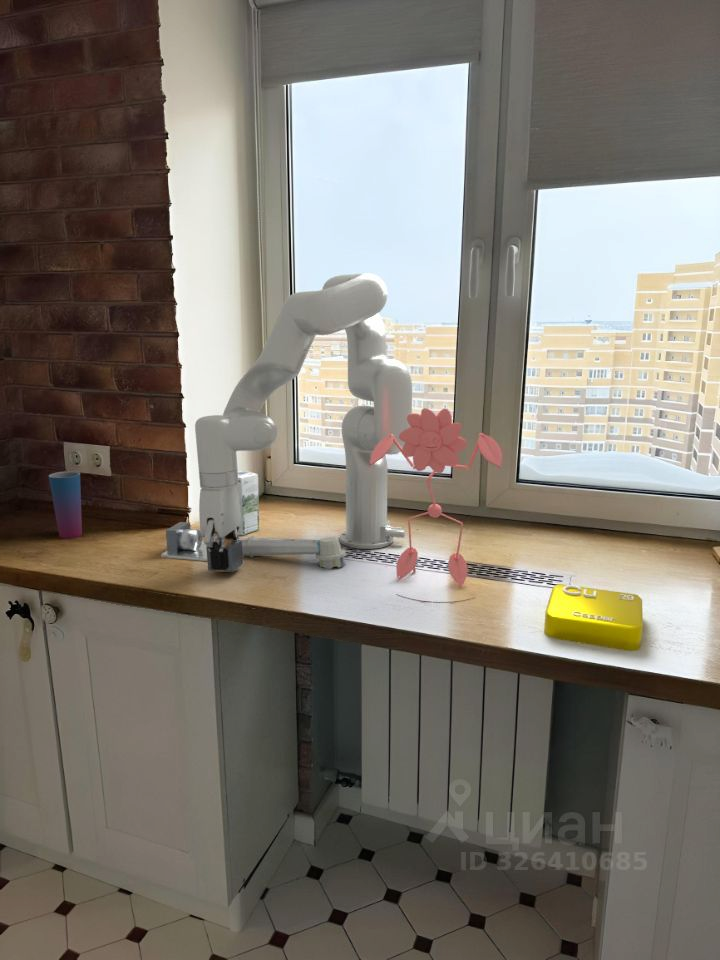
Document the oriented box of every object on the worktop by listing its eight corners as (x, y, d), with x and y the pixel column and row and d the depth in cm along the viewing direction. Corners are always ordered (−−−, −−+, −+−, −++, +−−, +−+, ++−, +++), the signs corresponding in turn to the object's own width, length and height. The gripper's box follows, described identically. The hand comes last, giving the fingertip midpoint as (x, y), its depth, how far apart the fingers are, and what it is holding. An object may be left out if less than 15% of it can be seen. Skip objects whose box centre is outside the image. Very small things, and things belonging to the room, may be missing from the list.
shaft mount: (240, 549, 153) (239, 524, 151) (223, 562, 144) (222, 536, 143) (181, 544, 156) (179, 520, 155) (161, 557, 148) (159, 531, 146)
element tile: (542, 639, 111) (544, 612, 110) (552, 604, 125) (554, 579, 124) (640, 655, 106) (643, 627, 105) (639, 617, 119) (642, 591, 118)
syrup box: (243, 526, 170) (240, 469, 166) (260, 530, 166) (258, 473, 163) (226, 532, 165) (223, 474, 162) (243, 536, 162) (241, 477, 158)
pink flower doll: (376, 565, 143) (377, 400, 134) (499, 581, 134) (509, 406, 126) (351, 593, 129) (350, 411, 120) (487, 613, 121) (496, 419, 112)
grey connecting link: (242, 534, 152) (346, 530, 143) (247, 562, 153) (350, 560, 144) (230, 541, 147) (337, 538, 138) (235, 570, 148) (341, 569, 140)
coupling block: (243, 562, 141) (241, 539, 139) (233, 572, 136) (231, 547, 134) (219, 561, 142) (217, 537, 141) (208, 570, 137) (205, 546, 136)
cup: (91, 533, 164) (86, 473, 160) (66, 541, 158) (60, 479, 154) (74, 529, 167) (68, 470, 164) (49, 536, 162) (42, 475, 158)
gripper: (220, 467, 143) (226, 548, 148) (180, 488, 127) (189, 578, 132) (253, 468, 141) (258, 550, 146) (217, 490, 125) (224, 581, 130)
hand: (225, 563), depth 139 cm, fingers closed on coupling block, 5 cm apart
